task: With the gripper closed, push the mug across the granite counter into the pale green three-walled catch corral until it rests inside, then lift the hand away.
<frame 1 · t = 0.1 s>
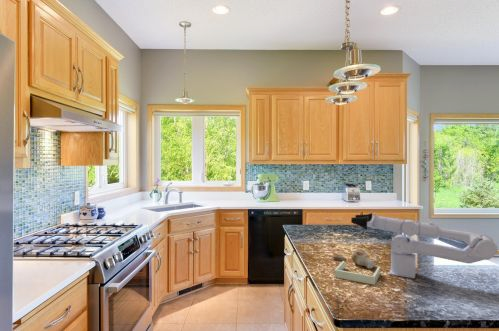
hand: (353, 218, 136), 22 cm above the worktop, tool horizontal, fingers open, 7 cm apart
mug: (364, 266, 135), on the worktop
walnut tile: (338, 259, 145), on the worktop
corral: (357, 275, 124), on the worktop
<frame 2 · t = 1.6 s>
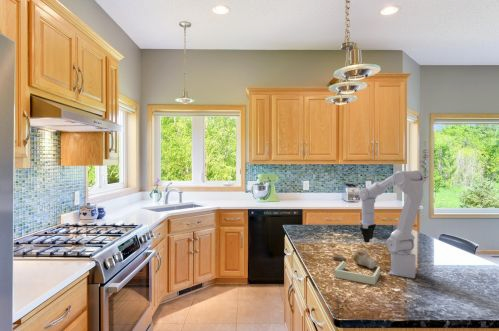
hand: (368, 240, 144), 9 cm above the worktop, tool pointing down, fingers open, 7 cm apart
nothing on the worktop moved.
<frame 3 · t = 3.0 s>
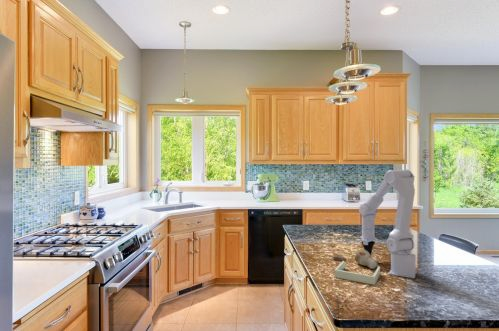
hand: (368, 256, 144), 2 cm above the worktop, tool pointing down, fingers closed
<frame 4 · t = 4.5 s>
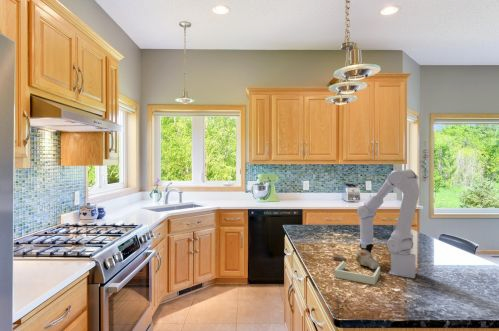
hand: (366, 259, 140), 1 cm above the worktop, tool pointing down, fingers closed
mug: (368, 267, 134), on the worktop, touching gripper
everything else where it was.
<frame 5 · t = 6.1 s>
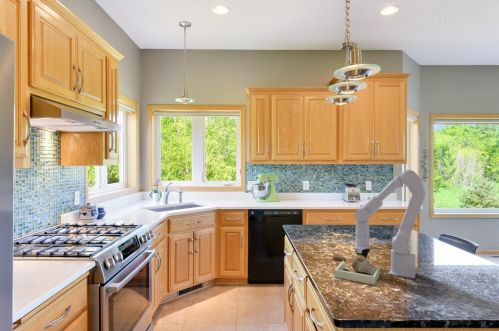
hand: (362, 265, 132), 1 cm above the worktop, tool pointing down, fingers closed
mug: (365, 273, 126), on the worktop, touching gripper
everything else where it was.
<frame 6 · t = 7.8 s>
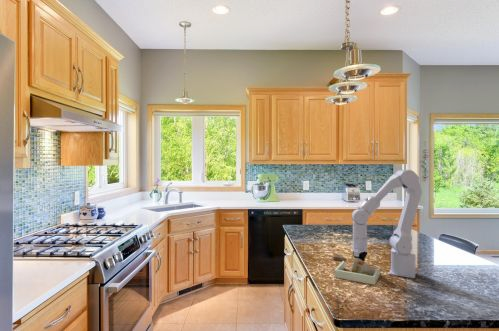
hand: (360, 268, 128), 1 cm above the worktop, tool pointing down, fingers closed
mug: (363, 275, 123), on the worktop, touching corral, gripper
everything else where it was.
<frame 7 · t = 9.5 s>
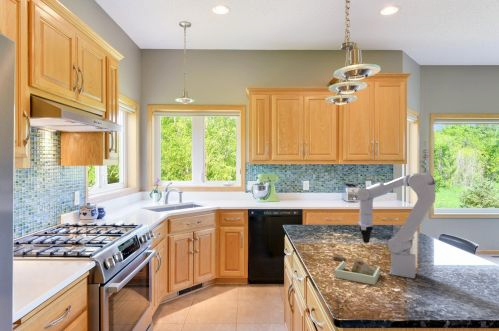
hand: (366, 242, 138), 10 cm above the worktop, tool pointing down, fingers closed
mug: (363, 276, 124), on the worktop
everything else where it was.
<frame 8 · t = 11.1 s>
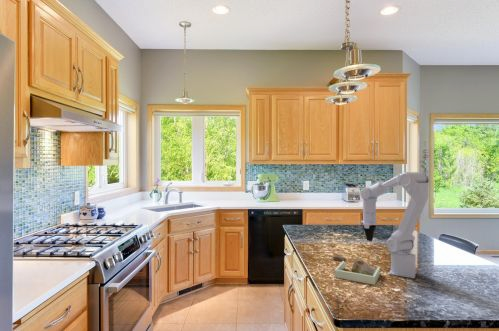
hand: (369, 240, 141), 10 cm above the worktop, tool pointing down, fingers closed
nothing on the worktop moved.
at the end: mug inside the target area on the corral (2.8 cm from its centre), point 0.0 cm above the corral's base; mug tilted 0° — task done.
